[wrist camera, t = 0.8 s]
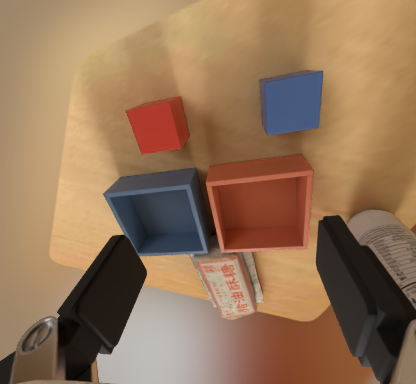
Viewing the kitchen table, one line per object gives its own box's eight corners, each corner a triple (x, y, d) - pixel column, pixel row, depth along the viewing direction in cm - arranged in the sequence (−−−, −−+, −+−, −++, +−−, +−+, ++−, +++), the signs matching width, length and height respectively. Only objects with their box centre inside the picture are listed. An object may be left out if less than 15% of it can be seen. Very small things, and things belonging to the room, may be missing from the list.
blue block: (259, 79, 21) (264, 82, 17) (306, 69, 20) (323, 70, 16) (262, 124, 23) (267, 135, 19) (304, 117, 22) (319, 127, 18)
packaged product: (177, 260, 29) (247, 253, 27) (184, 236, 33) (245, 228, 31) (212, 325, 38) (267, 323, 35) (214, 299, 42) (263, 297, 40)
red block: (143, 103, 23) (125, 110, 20) (180, 95, 22) (169, 101, 19) (155, 141, 26) (141, 154, 22) (190, 136, 25) (181, 148, 21)
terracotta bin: (209, 165, 26) (205, 182, 23) (301, 153, 24) (314, 169, 20) (222, 230, 32) (221, 253, 28) (298, 225, 30) (307, 249, 26)
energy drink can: (350, 244, 30) (431, 372, 18) (337, 217, 28) (420, 340, 15) (397, 230, 28) (529, 364, 16) (387, 198, 26) (532, 325, 13)
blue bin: (120, 177, 29) (102, 193, 25) (196, 167, 27) (189, 184, 23) (146, 235, 35) (135, 256, 31) (211, 231, 32) (208, 253, 28)
